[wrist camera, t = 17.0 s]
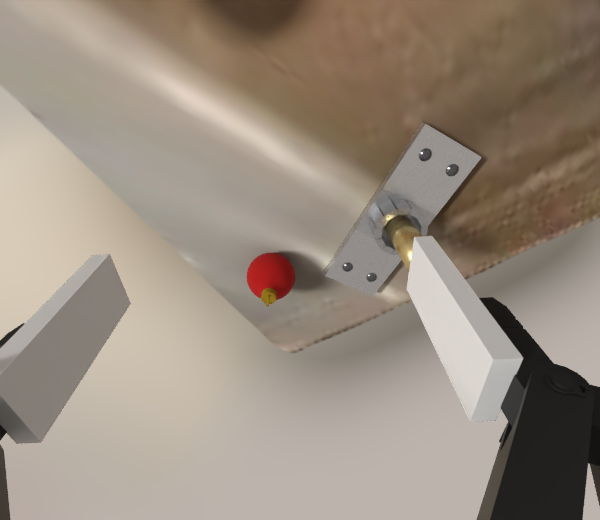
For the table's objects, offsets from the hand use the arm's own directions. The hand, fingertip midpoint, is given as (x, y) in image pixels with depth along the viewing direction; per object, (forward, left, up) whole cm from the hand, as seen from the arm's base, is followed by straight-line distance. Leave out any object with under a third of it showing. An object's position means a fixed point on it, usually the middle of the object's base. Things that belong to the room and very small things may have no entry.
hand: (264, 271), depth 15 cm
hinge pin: (+4, +19, -30) cm, 36 cm away
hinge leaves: (+4, +20, -32) cm, 37 cm away
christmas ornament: (+19, +7, -32) cm, 38 cm away
